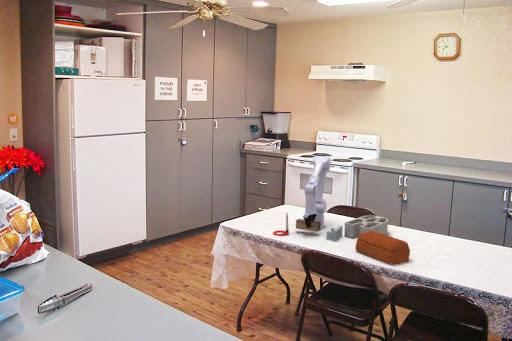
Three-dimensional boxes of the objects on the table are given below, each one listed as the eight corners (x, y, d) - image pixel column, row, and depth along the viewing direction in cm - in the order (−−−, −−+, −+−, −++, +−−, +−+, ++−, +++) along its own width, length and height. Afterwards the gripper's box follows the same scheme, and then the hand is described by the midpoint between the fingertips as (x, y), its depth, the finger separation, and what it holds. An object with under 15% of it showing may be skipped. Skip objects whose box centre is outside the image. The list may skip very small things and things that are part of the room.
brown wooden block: (298, 226, 290) (298, 218, 290) (320, 229, 284) (320, 221, 283) (295, 228, 287) (296, 220, 286) (318, 231, 281) (318, 223, 280)
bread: (392, 266, 235) (393, 245, 234) (352, 251, 257) (353, 232, 255) (412, 260, 244) (414, 240, 242) (372, 246, 266) (373, 227, 264)
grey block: (332, 234, 286) (332, 224, 285) (342, 235, 283) (342, 226, 282) (325, 239, 275) (326, 229, 274) (335, 241, 272) (336, 231, 271)
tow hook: (272, 236, 281) (288, 236, 281) (272, 214, 279) (288, 214, 279) (273, 232, 290) (288, 232, 289) (272, 211, 287) (288, 211, 287)
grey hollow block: (343, 237, 282) (344, 222, 280) (368, 227, 302) (368, 214, 301) (368, 243, 271) (369, 228, 269) (392, 233, 291) (393, 219, 290)
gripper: (312, 207, 274) (311, 230, 277) (321, 202, 287) (320, 224, 290) (301, 206, 278) (300, 229, 280) (309, 201, 290) (309, 223, 293)
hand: (309, 226), depth 285 cm, fingers closed on brown wooden block, 4 cm apart
